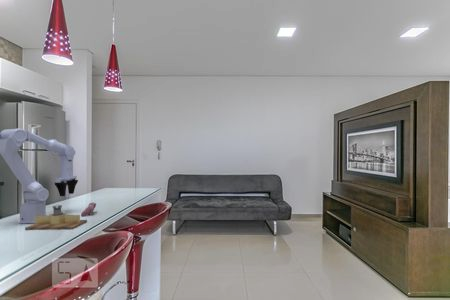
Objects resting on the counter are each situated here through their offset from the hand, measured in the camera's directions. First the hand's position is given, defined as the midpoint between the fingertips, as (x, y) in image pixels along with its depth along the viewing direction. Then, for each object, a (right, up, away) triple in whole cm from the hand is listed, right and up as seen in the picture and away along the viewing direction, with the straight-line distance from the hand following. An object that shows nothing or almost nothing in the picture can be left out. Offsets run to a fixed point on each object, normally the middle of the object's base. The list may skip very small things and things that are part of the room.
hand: (66, 194), depth 137 cm
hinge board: (+9, -10, -22) cm, 26 cm away
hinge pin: (+9, -9, -22) cm, 26 cm away
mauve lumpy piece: (+12, -10, -1) cm, 16 cm away
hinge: (+9, -10, -22) cm, 26 cm away
